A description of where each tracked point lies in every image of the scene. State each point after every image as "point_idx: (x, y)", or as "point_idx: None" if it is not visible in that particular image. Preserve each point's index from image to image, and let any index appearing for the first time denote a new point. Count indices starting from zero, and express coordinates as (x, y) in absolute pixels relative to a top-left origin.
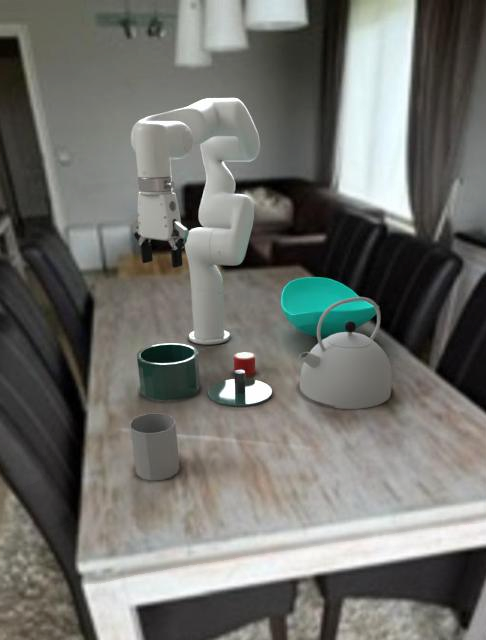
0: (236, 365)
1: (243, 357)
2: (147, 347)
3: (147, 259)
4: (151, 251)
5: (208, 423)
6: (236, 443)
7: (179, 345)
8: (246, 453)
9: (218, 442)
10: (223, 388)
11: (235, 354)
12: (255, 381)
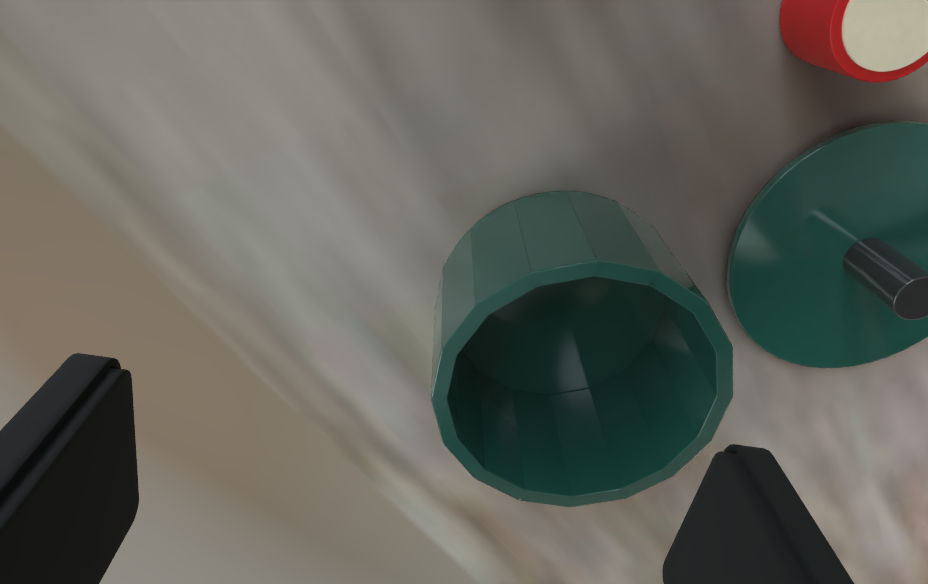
0: (829, 68)
1: (897, 57)
2: (444, 369)
3: (120, 491)
4: (43, 480)
5: (783, 458)
6: (890, 517)
7: (587, 276)
8: (924, 544)
9: (839, 527)
10: (788, 261)
11: (836, 16)
12: (924, 139)
